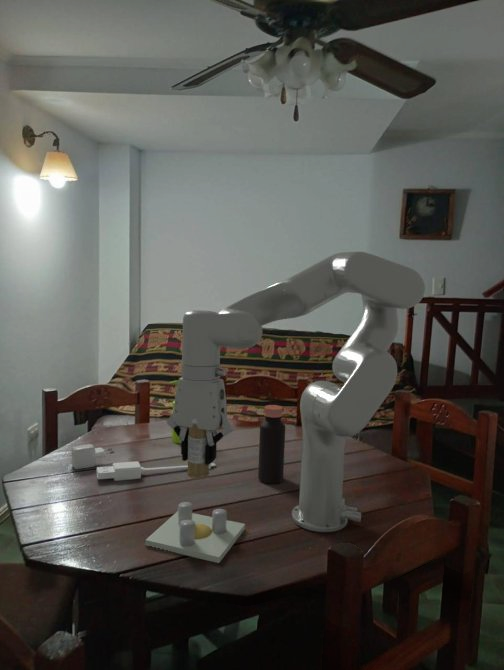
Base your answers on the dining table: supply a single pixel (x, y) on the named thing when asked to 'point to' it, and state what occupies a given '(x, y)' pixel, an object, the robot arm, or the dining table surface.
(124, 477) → the charging cable
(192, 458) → the sprinkles bottle
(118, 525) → the dining table surface
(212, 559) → the pin board
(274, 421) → the vinegar
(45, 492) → the dining table surface
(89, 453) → the power adapter
